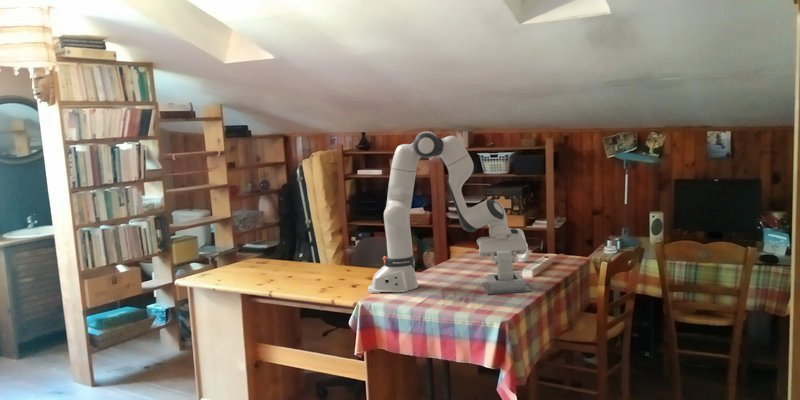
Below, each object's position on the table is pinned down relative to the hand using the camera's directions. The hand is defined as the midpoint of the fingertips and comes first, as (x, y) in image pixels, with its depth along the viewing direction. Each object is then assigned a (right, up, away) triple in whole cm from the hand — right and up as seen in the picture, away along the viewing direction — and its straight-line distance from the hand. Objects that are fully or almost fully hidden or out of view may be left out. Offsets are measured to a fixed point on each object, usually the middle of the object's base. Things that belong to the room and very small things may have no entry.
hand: (505, 262), depth 273 cm
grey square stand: (+1, -11, +2) cm, 11 cm away
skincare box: (0, -7, +2) cm, 7 cm away
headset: (+11, -6, +40) cm, 42 cm away
